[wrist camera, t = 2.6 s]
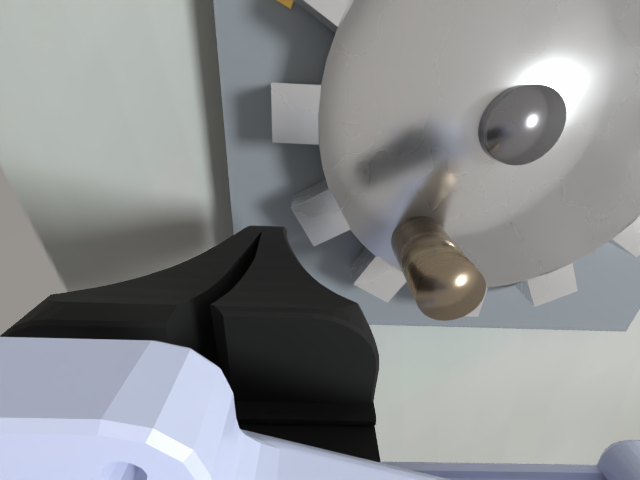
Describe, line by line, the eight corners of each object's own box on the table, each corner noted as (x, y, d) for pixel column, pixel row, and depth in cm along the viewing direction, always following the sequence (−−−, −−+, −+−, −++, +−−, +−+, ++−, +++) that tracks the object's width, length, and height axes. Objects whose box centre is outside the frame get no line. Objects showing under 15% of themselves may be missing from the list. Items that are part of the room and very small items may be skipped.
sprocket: (608, 301, 15) (724, 388, 11) (279, 292, 15) (264, 378, 11) (880, -189, 8) (1500, -488, 4) (270, -234, 8) (213, -626, 4)
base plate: (609, 318, 18) (627, 332, 17) (245, 308, 17) (240, 322, 16) (941, -261, 9) (1022, -305, 8) (196, -321, 8) (179, -377, 7)
